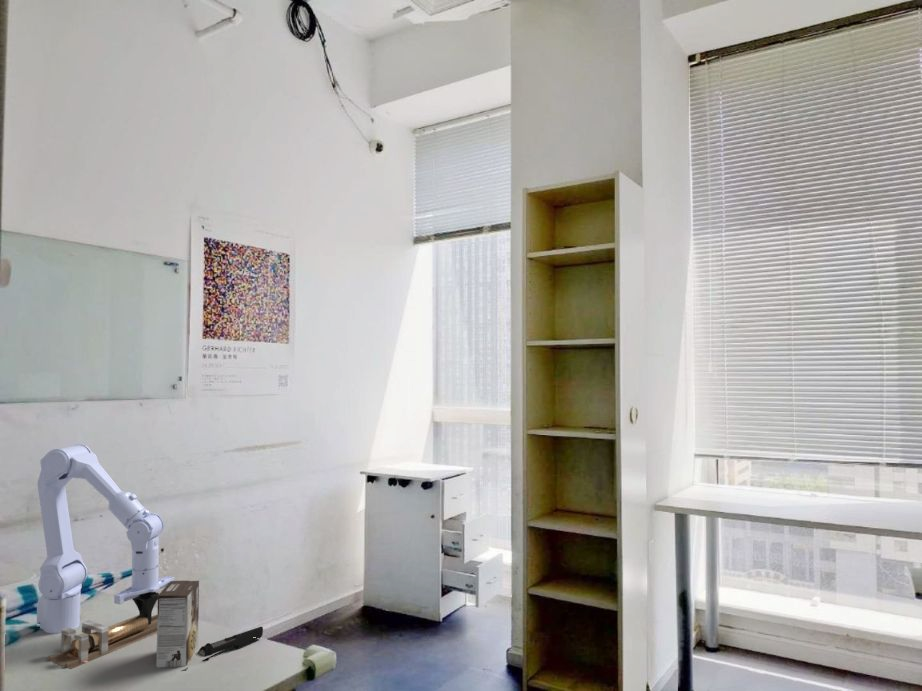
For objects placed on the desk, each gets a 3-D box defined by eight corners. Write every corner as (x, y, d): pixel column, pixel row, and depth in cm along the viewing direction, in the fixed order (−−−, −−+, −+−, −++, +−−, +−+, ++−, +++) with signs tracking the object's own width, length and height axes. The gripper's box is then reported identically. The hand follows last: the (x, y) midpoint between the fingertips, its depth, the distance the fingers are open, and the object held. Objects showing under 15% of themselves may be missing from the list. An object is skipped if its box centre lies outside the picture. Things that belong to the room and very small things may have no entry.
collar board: (45, 664, 139) (46, 633, 139) (155, 620, 162) (155, 594, 162) (70, 674, 134) (71, 642, 134) (179, 627, 158) (180, 601, 158)
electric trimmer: (266, 641, 152) (266, 628, 152) (203, 664, 140) (204, 649, 140) (257, 637, 154) (257, 623, 155) (195, 658, 143) (195, 644, 143)
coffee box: (168, 653, 144) (170, 580, 145) (198, 651, 145) (200, 579, 146) (154, 672, 135) (156, 595, 136) (186, 671, 136) (188, 594, 137)
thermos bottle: (80, 659, 139) (81, 641, 139) (70, 654, 141) (71, 637, 141) (148, 631, 153) (148, 615, 153) (138, 627, 155) (138, 612, 155)
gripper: (128, 578, 146) (128, 639, 146) (182, 560, 159) (182, 616, 159) (108, 574, 149) (108, 633, 149) (163, 556, 162) (163, 611, 162)
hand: (145, 624), depth 154 cm, fingers closed, pressing on thermos bottle
